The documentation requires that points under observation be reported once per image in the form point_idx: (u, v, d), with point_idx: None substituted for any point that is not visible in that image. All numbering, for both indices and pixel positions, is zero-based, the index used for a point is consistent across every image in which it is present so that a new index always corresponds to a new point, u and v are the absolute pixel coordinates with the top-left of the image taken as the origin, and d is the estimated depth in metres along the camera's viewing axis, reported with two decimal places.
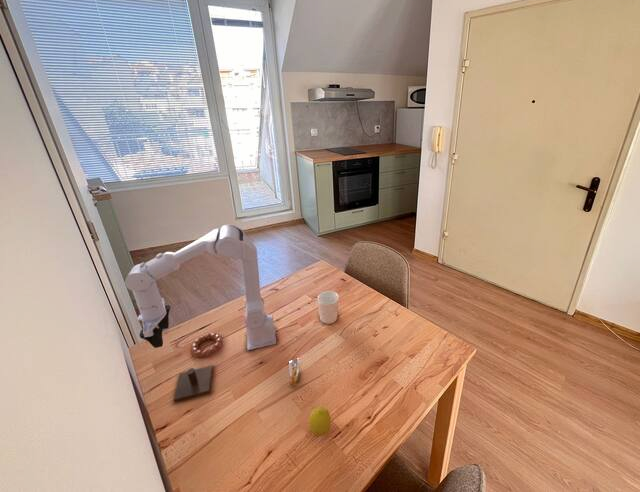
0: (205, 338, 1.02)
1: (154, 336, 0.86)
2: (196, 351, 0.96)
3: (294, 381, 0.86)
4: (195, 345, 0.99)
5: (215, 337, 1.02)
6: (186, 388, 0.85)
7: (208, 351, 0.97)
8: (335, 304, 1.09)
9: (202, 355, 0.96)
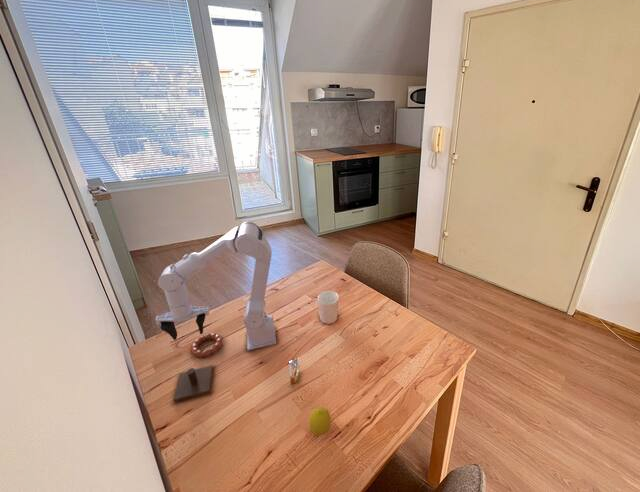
0: (205, 338, 1.02)
1: None
2: (196, 351, 0.96)
3: (294, 381, 0.86)
4: (195, 345, 0.99)
5: (215, 337, 1.02)
6: (186, 388, 0.85)
7: (208, 351, 0.97)
8: (335, 304, 1.09)
9: (202, 355, 0.96)
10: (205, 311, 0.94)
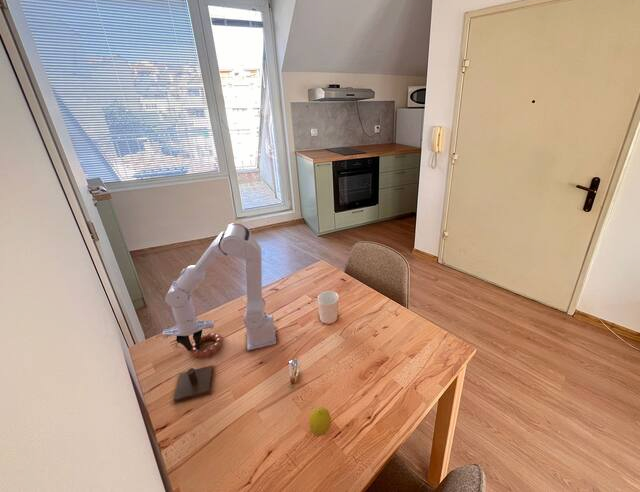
0: (205, 338, 1.02)
1: None
2: (196, 351, 0.96)
3: (294, 381, 0.86)
4: (195, 345, 0.99)
5: (215, 337, 1.02)
6: (186, 388, 0.85)
7: (208, 351, 0.97)
8: (335, 304, 1.09)
9: (202, 355, 0.96)
10: (210, 325, 0.97)
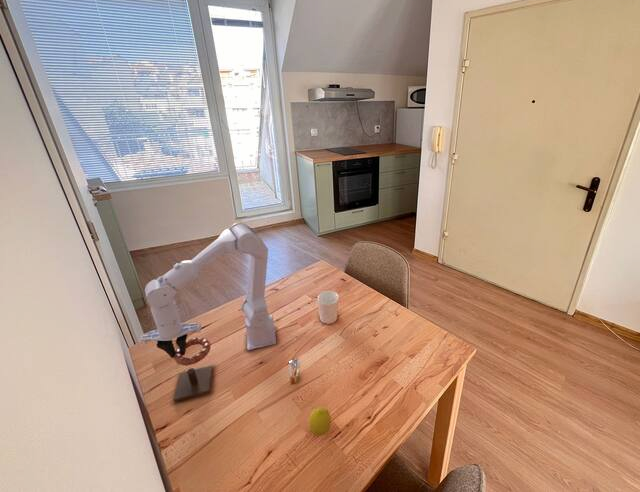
0: (191, 343, 0.90)
1: None
2: (180, 358, 0.85)
3: (294, 381, 0.86)
4: (179, 351, 0.87)
5: (202, 342, 0.90)
6: (186, 388, 0.85)
7: (193, 358, 0.85)
8: (335, 304, 1.09)
9: (186, 363, 0.84)
10: (196, 328, 0.85)
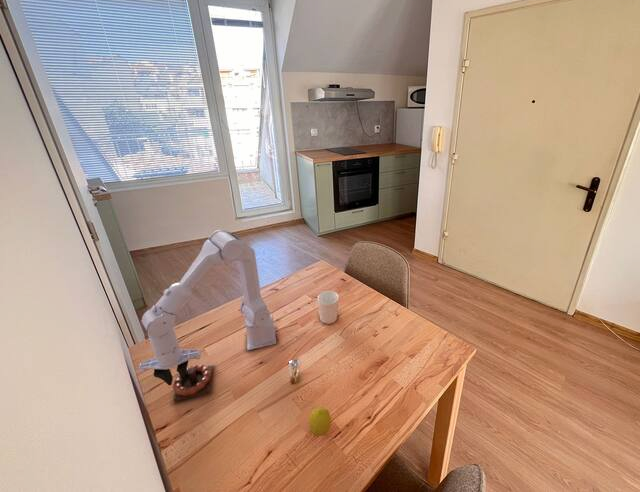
0: None
1: None
2: (179, 388, 0.83)
3: (294, 381, 0.86)
4: (179, 380, 0.86)
5: (202, 370, 0.89)
6: None
7: (193, 388, 0.83)
8: (335, 304, 1.09)
9: (186, 393, 0.83)
10: (196, 355, 0.83)
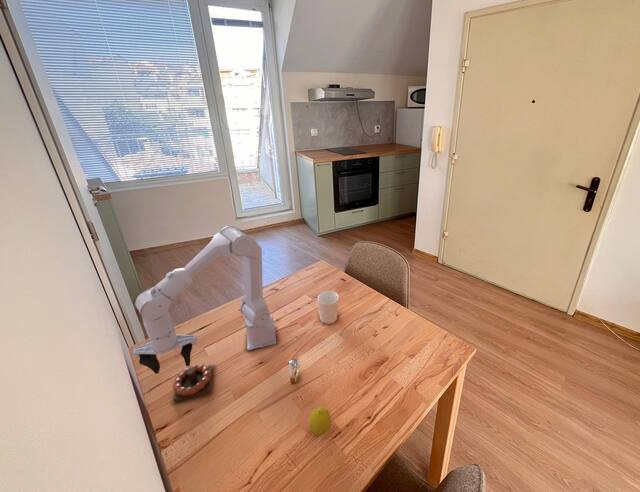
0: None
1: None
2: (179, 388, 0.83)
3: (294, 381, 0.86)
4: (179, 380, 0.86)
5: (202, 370, 0.89)
6: None
7: (193, 388, 0.83)
8: (335, 304, 1.09)
9: (186, 393, 0.83)
10: (192, 341, 0.81)
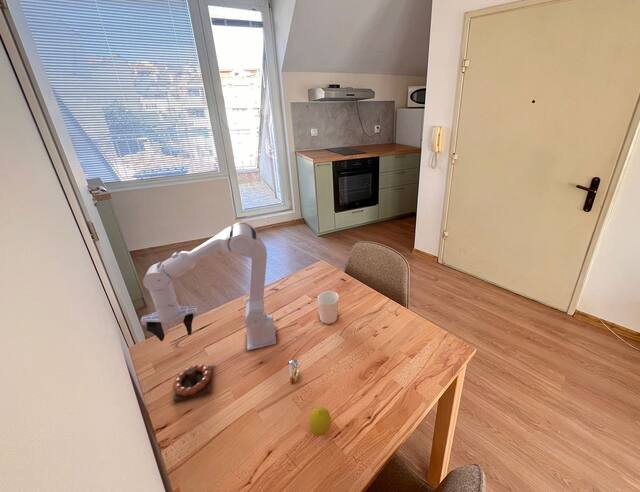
0: None
1: None
2: (179, 388, 0.83)
3: (294, 381, 0.86)
4: (179, 380, 0.86)
5: (202, 370, 0.89)
6: None
7: (193, 388, 0.83)
8: (335, 304, 1.09)
9: (186, 393, 0.83)
10: (193, 311, 0.90)
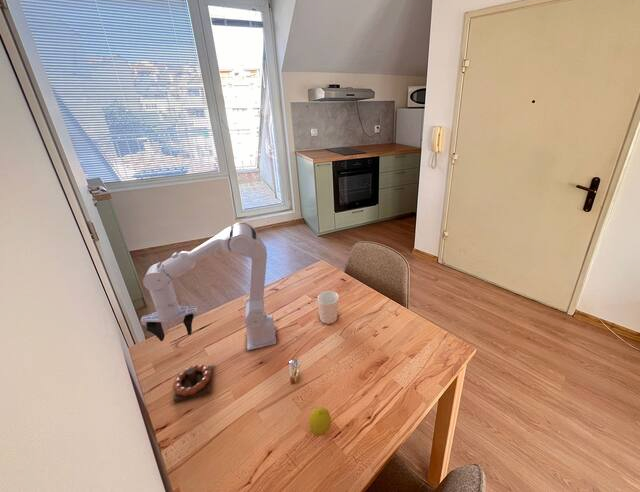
0: None
1: None
2: (179, 388, 0.83)
3: (294, 381, 0.86)
4: (179, 380, 0.86)
5: (202, 370, 0.89)
6: None
7: (193, 388, 0.83)
8: (335, 304, 1.09)
9: (186, 393, 0.83)
10: (193, 311, 0.90)
